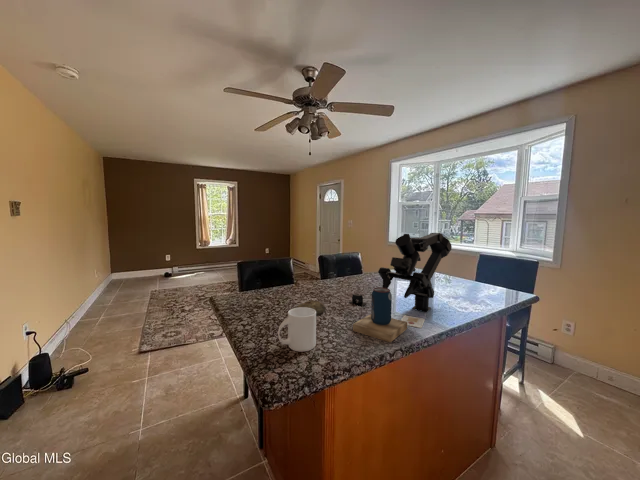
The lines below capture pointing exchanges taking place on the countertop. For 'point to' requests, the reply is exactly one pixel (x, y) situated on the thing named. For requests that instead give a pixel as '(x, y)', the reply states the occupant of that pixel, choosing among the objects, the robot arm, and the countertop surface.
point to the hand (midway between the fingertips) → (393, 294)
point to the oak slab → (380, 328)
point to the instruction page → (413, 321)
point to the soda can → (381, 306)
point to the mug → (300, 329)
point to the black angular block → (358, 297)
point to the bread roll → (314, 306)
